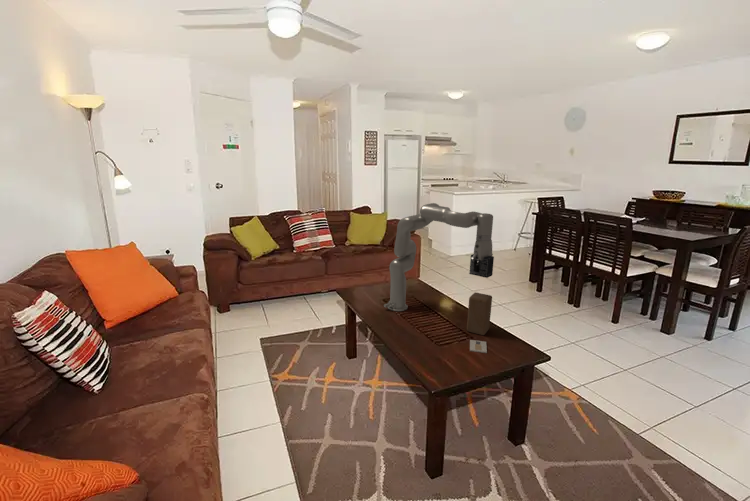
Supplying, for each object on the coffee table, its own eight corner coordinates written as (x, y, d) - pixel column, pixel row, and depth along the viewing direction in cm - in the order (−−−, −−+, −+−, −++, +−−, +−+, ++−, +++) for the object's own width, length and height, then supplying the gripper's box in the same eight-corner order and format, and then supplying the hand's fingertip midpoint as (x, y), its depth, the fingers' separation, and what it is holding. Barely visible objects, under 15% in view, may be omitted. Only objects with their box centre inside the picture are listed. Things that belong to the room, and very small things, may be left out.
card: (469, 351, 188) (469, 349, 188) (469, 340, 198) (470, 339, 198) (486, 353, 186) (486, 351, 186) (486, 342, 196) (486, 341, 196)
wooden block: (484, 336, 204) (487, 300, 199) (465, 331, 209) (468, 296, 204) (489, 329, 212) (492, 295, 207) (471, 325, 217) (474, 291, 212)
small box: (492, 275, 202) (494, 256, 199) (487, 278, 197) (489, 258, 195) (474, 271, 208) (475, 252, 206) (468, 274, 204) (470, 254, 201)
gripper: (478, 241, 190) (476, 275, 194) (500, 237, 200) (497, 269, 205) (466, 238, 196) (464, 271, 200) (488, 234, 206) (485, 266, 210)
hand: (481, 270), depth 202 cm, fingers closed on small box, 7 cm apart
